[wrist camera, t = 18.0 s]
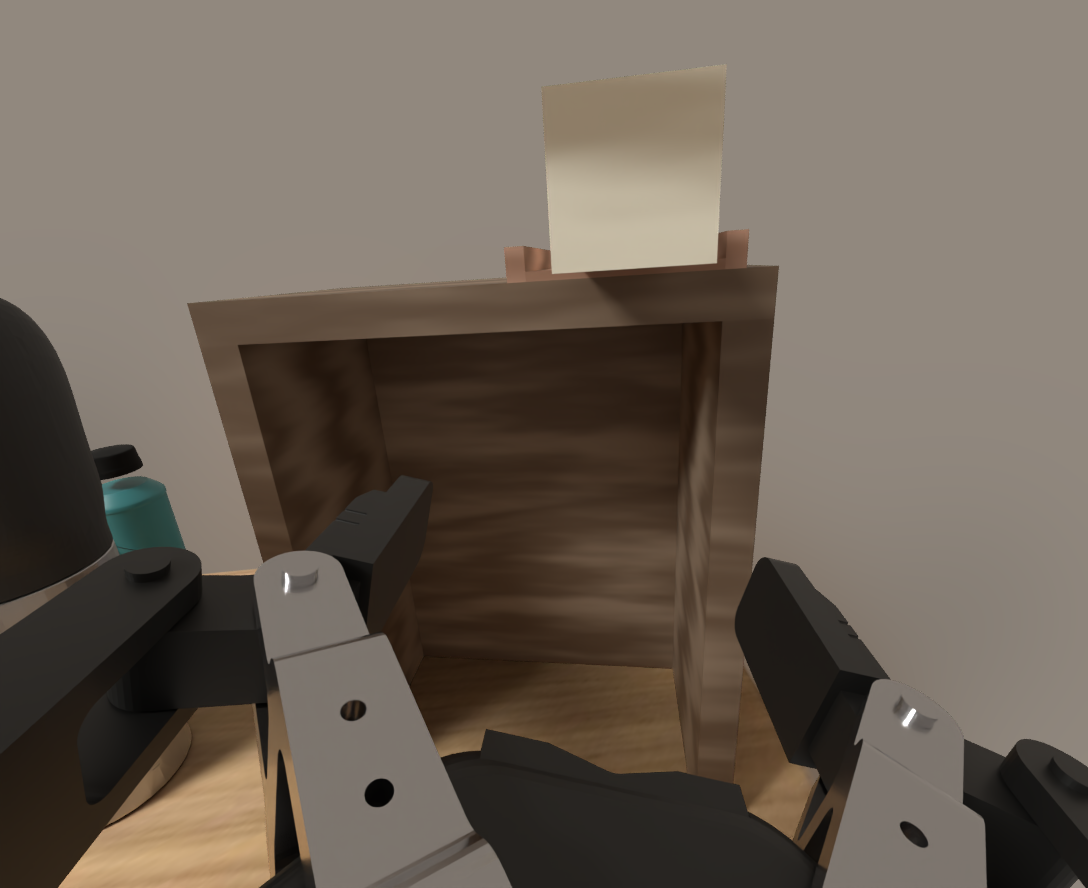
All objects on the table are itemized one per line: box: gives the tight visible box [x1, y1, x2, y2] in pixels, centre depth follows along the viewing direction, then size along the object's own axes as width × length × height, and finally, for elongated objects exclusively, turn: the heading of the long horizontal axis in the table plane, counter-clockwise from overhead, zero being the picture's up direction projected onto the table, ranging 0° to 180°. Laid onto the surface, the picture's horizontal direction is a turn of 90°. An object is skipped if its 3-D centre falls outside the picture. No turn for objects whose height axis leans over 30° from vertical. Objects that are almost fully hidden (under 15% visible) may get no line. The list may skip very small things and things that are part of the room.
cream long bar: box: [542, 64, 727, 274], centre depth 21 cm, size 24×4×4 cm, turn 172°
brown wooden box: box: [188, 229, 779, 784], centre depth 33 cm, size 14×26×33 cm, turn 82°
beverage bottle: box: [91, 445, 186, 555], centre depth 47 cm, size 6×7×20 cm
